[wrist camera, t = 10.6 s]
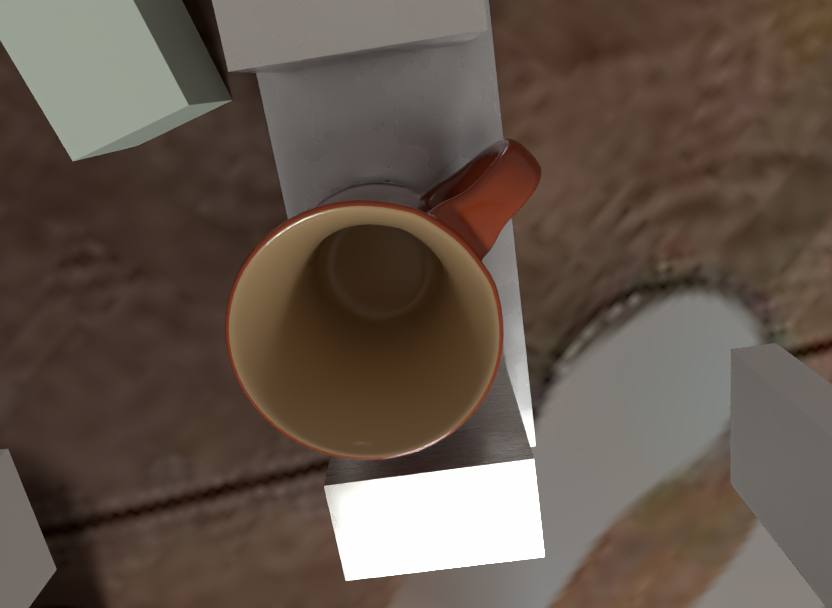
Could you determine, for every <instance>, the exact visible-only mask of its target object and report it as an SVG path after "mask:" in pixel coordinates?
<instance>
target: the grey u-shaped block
mask: <svg viewBox="0 0 832 608" xmlns="http://www.w3.org/2000/svg"><path fill="white" fill-rule="evenodd" d="M212 3H213V7H214V12H215V16H216V20H217V25H218V29H219V33H220V38H221V42H222V46H223V51H224V55H225V59H226V64H227V68H228V72H251V73H256V74H257V79H258V83H259V88H260V92H261V97H262V102H263V106H264V111H265V115H266V120H267V125H268V129H269V134H270V138H271V143H272V148H273V152H274V157H275V161H276V166H277V171H278V175H279V180H280V184H281V189H282V194H283V198H284V203H285V207H286V212H287V216H288V219H290V218H292V217H294V216H296V215H298V214H300V213H302V212H304V211H307V210H309V209H312V208H315V207H316V206H317V205H318V204H319V203H320V202H321V201H323V200H324V199H325V198H327V197H328V196H330V195H331V194H333V193H335V192H337V191H339V190H341V189H344V188H346V187H349V186H352V185H356V184H361V183H367V182H392V183H398V184H403V185H408V186H411V187H413V188H415V189H417V190H419V191H420V192H422V193H424V192H426V191H427V190H428V189H429V188H431V187H432V186H433V185H435V184H436V183H438V182H439V181H441V180H443V179H444V178H446V177H448V176H450V175H451V174H453V173H455V172H456V171H458V170H459V169H460V168H462V167H463V166H464V165H465V164H467V163H468V162H469V161H470V160H471V159H473V158H474V157H475V156H476V155H477V154H479V153H480V152H481V151H483V150H484V149H485V148H487V147H488V146H490V145H492V144H493V143H495V142H497V141H499V140H503V131H502V122H501V113H500V103H499V94H498V84H497V75H496V65H495V56H494V47H493V37H492V28H491V18H490V9H489V0H212ZM482 262H483V264H484V265H485V267H486V268H487V270H488V271H489V273H490V274H491V276H492V278H493V280H494V282H495V284H496V287H497V290H498V294H499V298H500V303H501V309H502V316H503V332H504V337H503V349H502V355H501V360H500V364H499V367H498V371H497V374H496V377H495V379H494V381H493V384H492V386H491V388H490V390H489V392H488V393H487V395H486V397H485V399H484V400H483V401H482V403H481V404H480V406H479V407H478V408H477V410H476V411H475V412H474V413H473V414H472V416H471V417H470V418H469V419H468V420H467V421H466V422H465V423H464V424H463V425H461V426H460V427H459V428H458V429H457V430H455V431H454V432H453V433H451V434H450V435H448V436H447V437H445V438H444V439H442V440H441V441H439V442H437V443H435V444H433V445H431V446H429V447H427V448H425V449H422V450H420V451H417V452H414V453H411V454H408V455H403V456H399V457H395V458H388V459H377V460H357V459H348V458H342V457H337V456H332V455H331V458H330V462H329V466H328V470H327V475H326V479H325V483H324V488H325V493H326V497H327V502H328V506H329V510H330V515H331V519H332V523H333V528H334V532H335V536H336V541H337V545H338V549H339V554H340V558H341V562H342V567H343V571H344V575H345V580H346V581H348V580H356V579H364V578H373V577H381V576H389V575H397V574H406V573H414V572H422V571H430V570H439V569H446V568H455V567H463V566H472V565H480V564H488V563H496V562H505V561H513V560H521V559H530V558H538V557H545V555H544V546H543V536H542V527H541V518H540V508H539V499H538V490H537V480H536V473H535V472H536V471H535V462H534V457H533V453H532V450H531V447H534V446H536V442H535V433H534V423H533V414H532V405H531V395H530V386H529V376H528V367H527V357H526V348H525V339H524V329H523V320H522V310H521V301H520V292H519V282H518V273H517V263H516V254H515V244H514V235H513V226H512V218H511V219H510V220H509V221H508V222H507V224H506V225H505V226H504V227H503V229H502V230H501V232H500V234H499V235H498V238H497V240H496V242H495V244H494V245H493V247H492V248H491V250H490V251H489V252H488V253H487V255H486V256H485V257H484V258H483V260H482Z"/></svg>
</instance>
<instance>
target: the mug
mask: <svg viewBox="0 0 832 608" xmlns="http://www.w3.org/2000/svg"><path fill="white" fill-rule="evenodd" d="M540 178H541V168H540V165H539V163H538V161H537V160H536V159H535V157H534V156H533V155H532V154H531V153H530V152H529V151H528V150H527V149H526V148H525V147H524V146H523V145H522V144H520V143H519V142H517V141H516V140H512V139H503V140H499V141H497V142H495V143H493V144H492V145H490V146H488V147H487V148H485V149H484V150H483V151H481V152H480V153H479V154H477V155H476V156H475V157H474V158H473V159H471V160H470V161H469V162H468V163H467V164H465V165H464V166H463V167H462V168H460V169H459V170H458V171H456V172H455V173H453V174H451V175H450V176H448V177H446V178H444V179H443V180H441V181H439V182H438V183H436V184H435V185H433V186H432V187H431V188H429V189H428V190H427V191H426V192H424V193H422V192H420V191H419V190H417V189H415V188H413V187H411V186H408V185H403V184H398V183H392V182H367V183H361V184H356V185H352V186H349V187H346V188H344V189H341V190H339V191H337V192H335V193H333V194H331V195H330V196H328V197H327V198H325V199H324V200H323V201H321V202H320V203H319V204H318V205H317V206H316V207H315V208H312V209H309V210H307V211H304V212H302V213H300V214H298V215H296V216H294V217H292V218H290V219H288V220H287V221H285V222H284V223H282V224H280V225H279V226H277V227H276V228H275V229H274V230H272V231H271V232H270V233H269V234H267V235H266V236H265V237H264V238H263V239H262V240H261V241H260V242H259V243H258V244H257V245H256V247H255V248H254V249H253V250H252V252H251V253H250V254H249V255H248V257H247V258H246V260H245V261H244V263H243V265H242V266H241V268H240V270H239V272H238V274H237V276H236V278H235V281H234V283H233V286H232V289H231V292H230V296H229V299H228V304H227V311H226V321H225V333H226V344H227V350H228V355H229V358H230V362H231V365H232V368H233V371H234V373H235V376H236V378H237V380H238V382H239V384H240V386H241V388H242V390H243V391H244V393H245V394H246V396H247V398H248V399H249V401H250V402H251V403H252V404H253V406H254V407H255V408H256V409H257V411H258V412H259V413H260V414H261V415H262V416H263V417H264V418H265V419H266V420H267V421H268V422H269V423H271V424H272V425H273V426H274V427H275V428H276V429H278V430H279V431H281V432H282V433H283V434H285V435H286V436H288V437H289V438H291V439H293V440H294V441H296V442H298V443H300V444H302V445H304V446H306V447H308V448H311V449H313V450H316V451H319V452H322V453H325V454H329V455H332V456H337V457H342V458H348V459H357V460H377V459H388V458H395V457H399V456H403V455H408V454H411V453H414V452H417V451H420V450H422V449H425V448H427V447H429V446H431V445H433V444H435V443H437V442H439V441H441V440H442V439H444V438H445V437H447V436H448V435H450V434H451V433H453V432H454V431H455V430H457V429H458V428H459V427H460V426H461V425H463V424H464V423H465V422H466V421H467V420H468V419H469V418H470V417H471V416H472V414H473V413H474V412H475V411H476V410H477V408H478V407H479V406H480V404H481V403H482V401H483V400H484V399H485V397H486V395H487V393H488V392H489V390H490V388H491V386H492V384H493V381H494V379H495V377H496V374H497V371H498V367H499V364H500V360H501V355H502V349H503V337H504V332H503V316H502V309H501V303H500V298H499V294H498V290H497V287H496V284H495V282H494V280H493V278H492V276H491V274H490V273H489V271H488V270H487V268H486V267H485V265H484V264H483V262H482V260H483V258H484V257H485V256H486V255H487V253H488V252H489V251H490V250H491V248H492V247H493V245H494V244H495V242H496V240H497V238H498V235H499V234H500V232H501V230H502V229H503V227H504V226H505V225H506V224H507V222H508V221H509V220H510V219H511V218H512V217H513V216H514V215H515V214H516V213H517V212H518V211H519V209H520V208H521V207H522V206H523V205H524V204H525V203H526V201H527V200H528V199H529V198H530V196H531V195H532V194H533V192H534V191H535V189H536V188H537V186H538V184H539V181H540Z"/></svg>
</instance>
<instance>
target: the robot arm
mask: <svg viewBox="0 0 832 608" xmlns="http://www.w3.org/2000/svg"><path fill="white" fill-rule="evenodd" d="M731 485H732V486H733V487H734V489H735V490H736V491H737V493H738V494H739V495H740V497H741V498H742V499H743V500H744V502H745V503H746V504H747V506H748V507H749V508H750V509H751V511H752V512H753V513H754V515H755V516H756V517H757V518H758V520H759V521H760V522H761V524H762V525H763V526H764V527H765V529H766V530H767V531H768V533H769V534H770V535H771V536H772V538H773V539H774V540H775V542H776V543H777V544H778V546H779V547H780V548H781V549H782V551H783V552H784V553H785V554H786V556H787V557H788V558H789V560H790V561H791V562H792V564H793V565H794V566H795V567H796V569H797V570H798V571H799V573H800V574H801V575H802V576H803V578H804V579H805V580H806V582H807V583H808V584H809V585H810V587H811V588H812V589H813V591H814V592H815V593H816V595H817V596H818V597H819V598H820V599H821V601H822V602H823V604H824V605H825V606H826V607H827V608H832V384H830V383H829V382H828V381H826V380H825V379H824V378H822V377H821V376H820V375H818V374H817V373H816V372H814V371H813V370H811V369H810V368H809V367H807V366H806V365H805V364H803V363H802V362H801V361H799V360H798V359H797V358H795V357H794V356H792V355H791V354H790V353H788V352H787V351H786V350H784V349H783V348H782V347H780V346H779V345H778V344H776V343H773V344H766V345H759V346H751V347H744V348H737V349H731ZM56 570H57V569H56V566H55V564H54V562H53V559H52V557H51V554H50V552H49V549H48V547H47V544H46V542H45V539H44V537H43V534H42V532H41V529H40V527H39V524H38V522H37V519H36V517H35V515H34V512H33V510H32V507H31V505H30V502H29V500H28V497H27V495H26V492H25V490H24V487H23V485H22V482H21V480H20V477H19V475H18V472H17V470H16V467H15V465H14V463H13V460H12V458H11V455H10V453H9V450H8V449H2V450H0V608H29V607H30V605H31V604H32V603H33V601H34V600H35V599H36V597H37V596H38V594H39V593H40V592H41V590H42V589H43V588H44V586H45V585H46V584H47V582H48V581H49V579H50V578H51V577H52V575H53V574H54V573H55V571H56Z"/></svg>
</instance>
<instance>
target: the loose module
mask: <svg viewBox="0 0 832 608" xmlns="http://www.w3.org/2000/svg"><path fill="white" fill-rule="evenodd" d="M0 40H1V42H2V44H3V45H4V47H5V49H6V50H7V52H8V54H9V55H10V57H11V59H12V60H13V62H14V64H15V65H16V67H17V69H18V70H19V72H20V74H21V75H22V77H23V79H24V80H25V82H26V84H27V85H28V87H29V89H30V90H31V92H32V94H33V95H34V97H35V99H36V100H37V102H38V104H39V105H40V107H41V109H42V111H43V112H44V114H45V116H46V117H47V119H48V121H49V122H50V124H51V126H52V127H53V129H54V131H55V132H56V134H57V136H58V137H59V139H60V141H61V142H62V144H63V146H64V147H65V149H66V151H67V152H68V154H69V156H70V157H71V159H72V161H76V160H81V159H85V158H89V157H93V156H97V155H101V154H106V153H110V152H114V151H118V150H122V149H126V148H130V147H135V146H138V145H140V144H142V143H144V142H146V141H148V140H150V139H153V138H155V137H157V136H159V135H161V134H163V133H165V132H167V131H169V130H171V129H173V128H175V127H178V126H180V125H182V124H184V123H186V122H188V121H190V120H192V119H194V118H196V117H198V116H200V115H202V114H205V113H207V112H209V111H211V110H213V109H215V108H217V107H219V106H221V105H223V104H225V103H227V102H230V101H232V98H231V96H230V94H229V92H228V90H227V88H226V86H225V84H224V82H223V80H222V78H221V76H220V74H219V72H218V70H217V68H216V66H215V65H214V63H213V61H212V59H211V57H210V55H209V53H208V51H207V49H206V47H205V45H204V43H203V41H202V39H201V37H200V35H199V33H198V31H197V29H196V27H195V25H194V23H193V21H192V19H191V17H190V15H189V13H188V11H187V9H186V7H185V5H184V3H183V1H182V0H0Z"/></svg>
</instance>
